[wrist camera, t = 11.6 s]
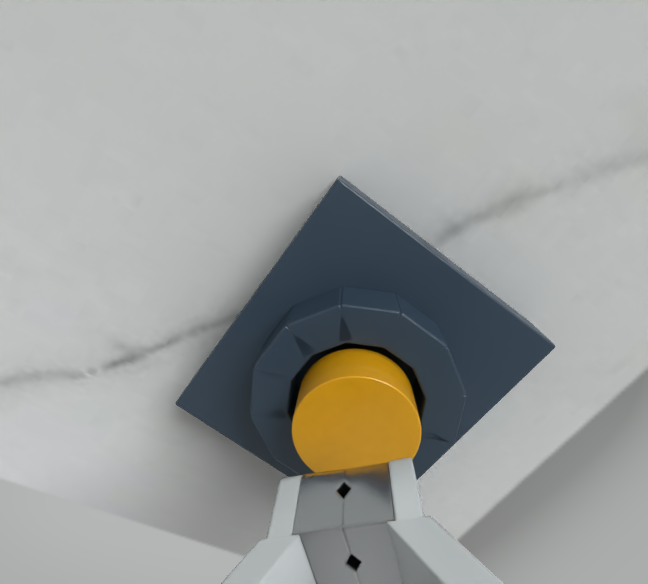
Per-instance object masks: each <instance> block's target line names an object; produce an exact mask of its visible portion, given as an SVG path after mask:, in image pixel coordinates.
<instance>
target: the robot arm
mask: <svg viewBox="0 0 648 584" xmlns="http://www.w3.org/2000/svg"><path fill="white" fill-rule="evenodd" d="M221 584H504V583H503V582H502V581H501V580H500V579H499V578H498V577H496V576H495V575H494V574H493V573H492V572H491V571H490V570H489V569H488V568H487V567H486V566H484V565H483V564H482V563H481V562H480V561H479V560H478V559H477V558H476V557H475V556H474V555H472V554H471V553H470V552H469V551H468V550H467V549H466V548H465V547H464V546H463V545H461V544H460V543H459V542H458V541H457V540H456V539H455V538H454V537H453V536H452V535H451V534H450V533H448V532H447V531H446V530H445V529H444V528H443V527H442V526H441V525H440V524H439V523H438V522H436V521H435V520H434V519H433V518H432V517H431V516H425V514H424V510H423V505H422V501H421V497H420V492H419V488H418V483H417V479H416V475H415V470H414V466H413V462H412V459H411V457H408V458H402V459H397V460H392V461H389V462H383V463H377V464H371V465H365V466H359V467H354V468H348V469H340V470H333V471H325V472H318V473H311V474H304V475H299V476H292V477H285V478H282V479H281V481H280V482H279V485H278V490H277V494H276V499H275V503H274V507H273V512H272V516H271V521H270V525H269V530H268V534H267V538H266V539H262V540H259V541H258V543H257V544H256V545H255V546H254V547H253V548H252V549H251V550H250V552H249V553H248V554H247V555H246V556H245V557H244V558H243V560H242V561H241V562H240V563H239V564H238V565H237V566H236V567H235V569H234V570H233V571H232V572H231V573H230V574H229V575H228V577H227V578H226V579H225V580H224V581H223V582H222V583H221Z"/></svg>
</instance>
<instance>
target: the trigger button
mask: <svg viewBox="0 0 648 584" xmlns="http://www.w3.org/2000/svg"><path fill="white" fill-rule="evenodd" d="M421 435H422V430H421V422H420V417H419V414H418V410H417V406H416V402H415V398H414V394H413V390H412V387H411V384H410V381H409V379H408V377H407V376H406V374H405V373H404V371H403V370H402V369H401V368H400V367H399V366H398V365H397V364H396V363H395V362H394V361H393V360H391V359H389V358H388V357H386V356H384V355H382V354H380V353H378V352H374V351H371V350H366V349H357V348H353V349H344V350H339V351H336V352H332V353H330V354H328V355H326V356H324V357H322V358H321V359H319V360H318V361H317V362H315V363H314V364H313V365H312V366H311V367H310V368H309V370H308V371H307V373H306V374H305V376H304V378H303V380H302V382H301V385H300V389H299V393H298V397H297V402H296V406H295V411H294V415H293V420H292V439H293V443H294V446H295V448H296V450H297V453H298V454H299V456H300V458H301V459H302V460H303V462H304V463H305V464H306V465H307V466H308V467H309V468H310V469H311V470H312V471H314V472H315V473H318V472H325V471H333V470H340V469H348V468H354V467H359V466H365V465H371V464H377V463H383V462H389V461H392V460H397V459H402V458H408V457H411V459H412V460H413V458H414V457H415V455H416V453H417V451H418V449H419V445H420V442H421Z"/></svg>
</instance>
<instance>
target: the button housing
mask: <svg viewBox="0 0 648 584" xmlns="http://www.w3.org/2000/svg"><path fill="white" fill-rule="evenodd" d="M353 348H357V349H366V350H371V351H374V352H378V353H380V354H382V355H384V356H386V357H388V358H389V359H391V360H393V361H394V362H395V363H396V364H397V365H398V366H399V367H400V368H401V369H402V370H403V371H404V373H405V374H406V376H407V377H408V379H409V381H410V384H411V387H412V390H413V394H414V398H415V402H416V406H417V410H418V414H419V417H420V422H421V430H422V435H421V442H420V445H419V449H418V451H417V453H416V455H415V457H414V458H413V460H412V462H413V466H414V470H415V475H416V479H418V478H420V477H421V476H422V475H423V474H424V473H425V472H426V471H427V470H428V469H429V468H430V467H431V466H432V465H433V464H434V463H435V462H436V461H437V460H438V459H439V458H440V457H441V456H442V455H444V454H445V453H446V452H447V451H448V450H449V449H450V448H451V447H452V446H453V445H454V444H455V443H456V442H457V441H458V440H459V439H460V438H461V437H462V436H463V435H464V434H465V433H466V432H467V431H468V430H469V429H470V428H472V427H473V426H474V425H475V424H476V423H477V422H478V421H479V420H480V419H481V418H482V417H483V416H484V415H485V414H486V413H487V412H488V411H489V410H490V409H491V408H492V407H493V406H494V405H495V404H497V403H498V402H499V401H500V400H501V399H502V398H503V397H504V396H505V395H506V394H507V393H508V392H509V391H510V390H511V389H512V388H513V387H514V386H515V385H516V384H517V383H518V382H519V381H520V380H522V379H523V378H524V377H525V376H526V375H527V374H528V373H529V372H530V371H531V370H532V369H533V368H534V367H535V366H536V365H537V364H538V363H539V362H540V361H541V360H542V359H543V358H544V357H545V356H547V355H548V354H549V353H550V352H551V351H552V350H553V349H554V348H555V345H554V344H553V343H552V342H551V341H550V340H549V339H548V338H547V337H546V336H544V335H543V334H542V333H541V332H540V331H539V330H538V329H537V328H536V327H535V326H534V325H533V324H532V323H530V322H529V321H528V320H527V319H526V318H524V317H523V316H522V315H520V314H519V313H518V312H516V311H515V310H514V309H513V308H511V307H510V306H509V305H507V304H506V303H505V302H504V301H502V300H501V299H500V298H498V297H497V296H496V295H495V294H493V293H492V292H491V291H489V290H488V289H487V288H485V287H484V286H483V285H482V284H480V283H479V282H478V281H476V280H475V279H474V278H473V277H471V276H470V275H469V274H467V273H466V272H465V271H463V270H462V269H461V268H460V267H458V266H457V265H456V264H454V263H453V262H452V261H451V260H449V259H448V258H447V257H445V256H444V255H443V254H441V253H440V252H439V251H438V250H436V249H435V248H434V247H432V246H431V245H430V244H429V243H427V242H426V241H425V240H423V239H422V238H421V237H420V236H418V235H417V234H416V233H414V232H413V231H412V230H410V229H409V228H408V227H407V226H405V225H404V224H403V223H401V222H400V221H399V220H398V219H396V218H395V217H394V216H392V215H391V214H390V213H388V212H387V211H386V210H385V209H383V208H382V207H381V206H379V205H378V204H377V203H376V202H374V201H373V200H372V199H370V198H369V197H368V196H366V195H365V194H364V193H363V192H361V191H360V190H359V189H357V188H356V187H355V186H354V185H352V184H351V183H350V182H348V181H347V180H346V179H344V178H343V177H342V176H339V177H338V178H337V180H336V181H335V183H334V184H333V185H332V187H331V188H330V190H329V191H328V192H327V194H326V195H325V196H324V198H323V199H322V201H321V202H320V203H319V205H318V206H317V208H316V209H315V210H314V212H313V213H312V214H311V216H310V217H309V219H308V220H307V221H306V223H305V224H304V226H303V227H302V228H301V230H300V231H299V232H298V234H297V235H296V237H295V238H294V239H293V241H292V242H291V243H290V245H289V246H288V248H287V249H286V250H285V252H284V253H283V255H282V256H281V257H280V259H279V260H278V261H277V263H276V264H275V266H274V267H273V268H272V270H271V271H270V273H269V274H268V275H267V277H266V278H265V279H264V281H263V282H262V284H261V285H260V286H259V288H258V289H257V291H256V292H255V293H254V295H253V296H252V297H251V299H250V300H249V302H248V303H247V304H246V306H245V307H244V308H243V310H242V311H241V313H240V314H239V315H238V317H237V318H236V320H235V321H234V322H233V324H232V325H231V326H230V328H229V329H228V331H227V332H226V333H225V335H224V336H223V338H222V339H221V340H220V342H219V343H218V344H217V346H216V347H215V349H214V350H213V351H212V353H211V354H210V355H209V357H208V358H207V360H206V361H205V362H204V364H203V365H202V367H201V368H200V369H199V371H198V372H197V373H196V375H195V376H194V378H193V379H192V380H191V382H190V383H189V385H188V386H187V387H186V389H185V390H184V392H183V393H182V394H181V396H180V397H179V399H178V400H177V401H176V405H177V406H179V407H181V408H182V409H184V410H185V411H187V412H188V413H190V414H192V415H193V416H195V417H196V418H198V419H199V420H201V421H203V422H204V423H206V424H207V425H209V426H210V427H212V428H213V429H215V430H217V431H218V432H220V433H221V434H223V435H224V436H226V437H228V438H229V439H231V440H232V441H234V442H235V443H237V444H239V445H240V446H242V447H243V448H245V449H246V450H248V451H249V452H251V453H253V454H254V455H256V456H257V457H259V458H260V459H262V460H264V461H265V462H267V463H268V464H270V465H271V466H273V467H274V468H276V469H278V470H279V471H281V472H282V473H284V474H285V475H287V476H289V477H292V476H299V475H304V474H311V473H315V472H314V471H312V470H311V469H310V468H309V467H308V466H307V465H306V464H305V463H304V462H303V460H302V459H301V458H300V456H299V454H298V453H297V450H296V448H295V446H294V443H293V439H292V420H293V415H294V411H295V406H296V402H297V397H298V393H299V389H300V385H301V382H302V380H303V378H304V376H305V374H306V373H307V371H308V370H309V368H310V367H311V366H312V365H313V364H314V363H315V362H317V361H318V360H319V359H321V358H322V357H324V356H326V355H328V354H330V353H332V352H336V351H339V350H344V349H353Z"/></svg>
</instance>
